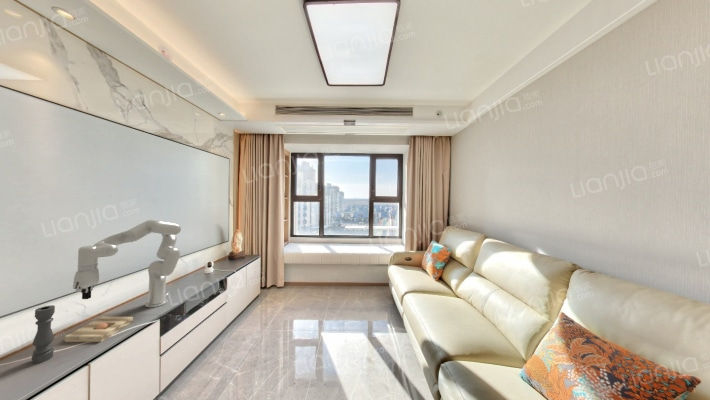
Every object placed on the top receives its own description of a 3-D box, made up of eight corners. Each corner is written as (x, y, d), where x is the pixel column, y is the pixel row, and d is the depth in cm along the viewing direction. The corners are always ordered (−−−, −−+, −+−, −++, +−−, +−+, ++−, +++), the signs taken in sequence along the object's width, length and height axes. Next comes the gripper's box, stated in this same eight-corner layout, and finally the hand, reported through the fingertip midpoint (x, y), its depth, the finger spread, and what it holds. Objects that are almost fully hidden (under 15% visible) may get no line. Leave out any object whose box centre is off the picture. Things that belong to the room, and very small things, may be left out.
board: (101, 321, 143) (101, 316, 143) (132, 321, 145) (133, 316, 145) (64, 341, 123) (64, 336, 123) (101, 341, 125) (101, 336, 125)
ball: (109, 319, 136) (111, 328, 135) (101, 322, 136) (104, 330, 136) (98, 324, 131) (101, 332, 130) (91, 326, 131) (93, 335, 131)
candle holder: (42, 363, 108) (45, 311, 108) (26, 364, 107) (29, 311, 107) (57, 354, 114) (59, 305, 114) (42, 354, 113) (44, 305, 113)
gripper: (93, 263, 140) (92, 292, 140) (65, 271, 125) (64, 304, 125) (107, 263, 140) (106, 293, 141) (81, 272, 126) (79, 304, 126)
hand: (86, 298), depth 133 cm, fingers closed
